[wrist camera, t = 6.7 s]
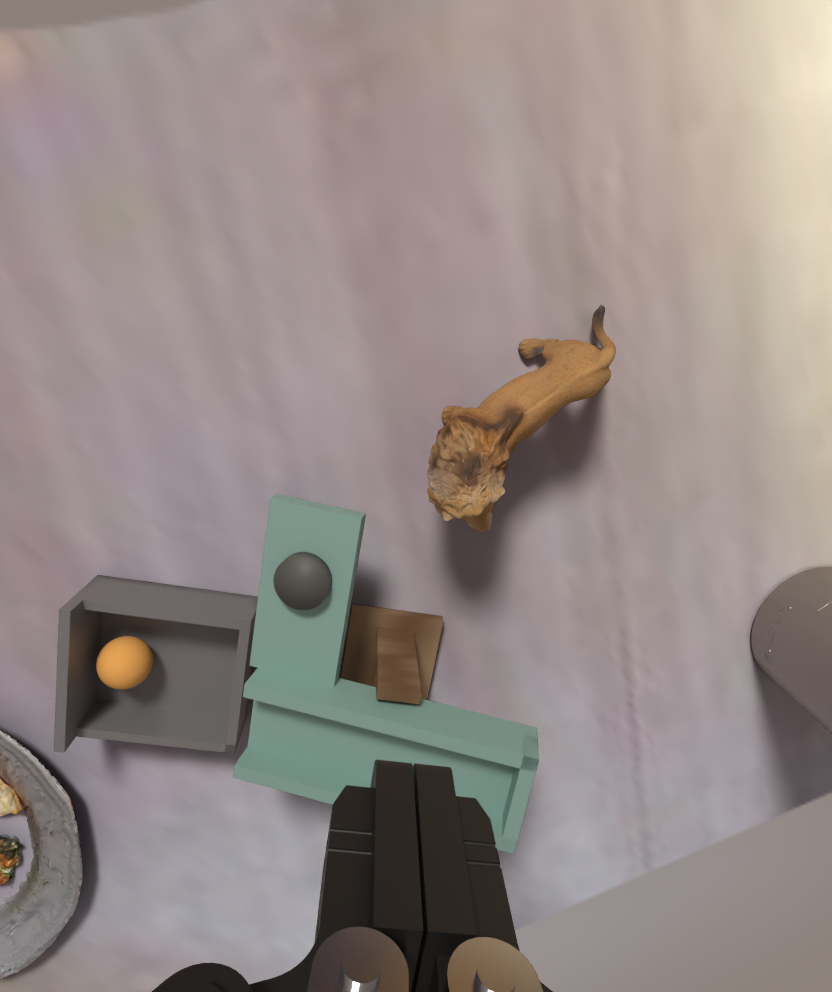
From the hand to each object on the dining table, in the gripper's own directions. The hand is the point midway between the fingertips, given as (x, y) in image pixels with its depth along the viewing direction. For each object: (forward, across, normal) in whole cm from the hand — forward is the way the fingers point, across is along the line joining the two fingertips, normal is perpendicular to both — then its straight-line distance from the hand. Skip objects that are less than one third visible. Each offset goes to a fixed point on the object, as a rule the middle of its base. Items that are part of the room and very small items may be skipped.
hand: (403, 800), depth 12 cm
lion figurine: (+28, -6, -6) cm, 29 cm away
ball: (+25, +15, +14) cm, 32 cm away
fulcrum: (+28, -2, +14) cm, 31 cm away
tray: (+27, +12, +14) cm, 33 cm away
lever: (+21, -2, +9) cm, 23 cm away
